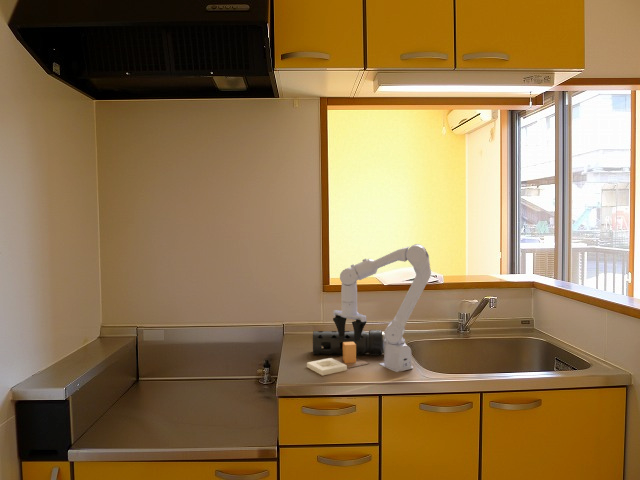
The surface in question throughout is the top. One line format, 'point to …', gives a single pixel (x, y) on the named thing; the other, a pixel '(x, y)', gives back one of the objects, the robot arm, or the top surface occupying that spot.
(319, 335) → the muzzle brake
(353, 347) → the plug
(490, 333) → the top surface
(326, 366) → the socket block
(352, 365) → the pad
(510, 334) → the top surface
